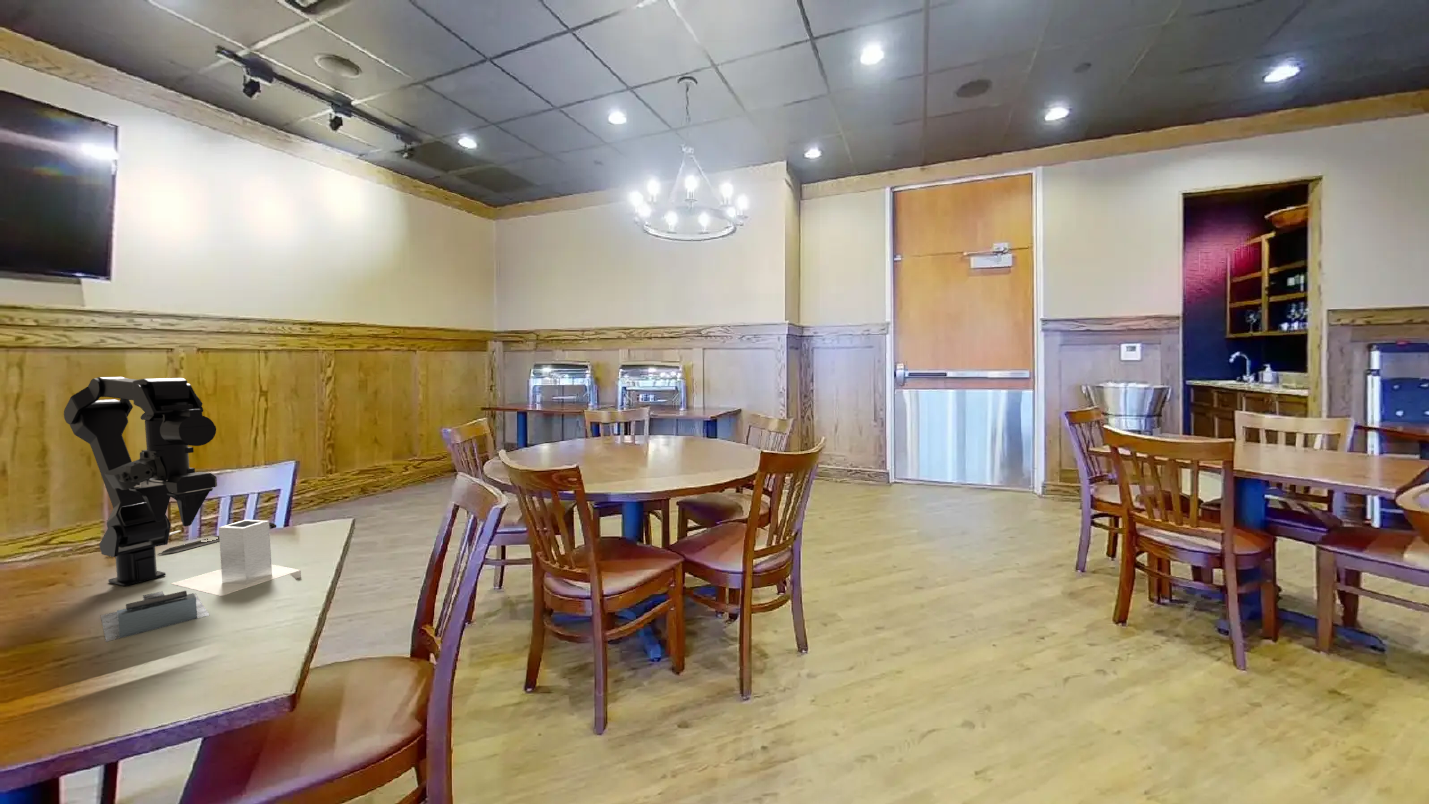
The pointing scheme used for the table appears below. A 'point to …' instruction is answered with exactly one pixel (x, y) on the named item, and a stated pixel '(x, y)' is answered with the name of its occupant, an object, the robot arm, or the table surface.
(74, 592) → the table surface
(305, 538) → the table surface
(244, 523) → the square hollow tube
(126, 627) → the grey piece
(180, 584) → the cutting board
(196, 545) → the knife
